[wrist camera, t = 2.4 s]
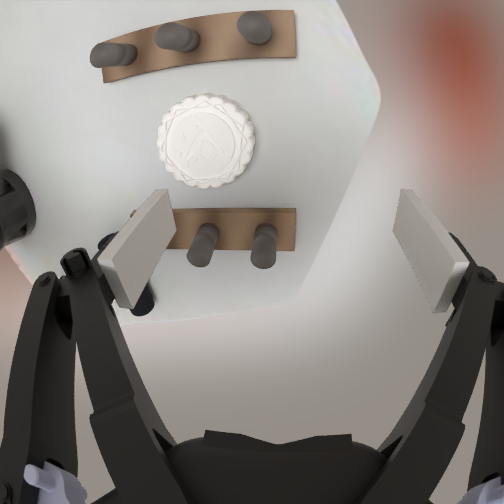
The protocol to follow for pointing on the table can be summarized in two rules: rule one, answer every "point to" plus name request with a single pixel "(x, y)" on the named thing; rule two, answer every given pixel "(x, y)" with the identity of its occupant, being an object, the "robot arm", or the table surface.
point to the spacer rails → (199, 51)
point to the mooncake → (206, 140)
